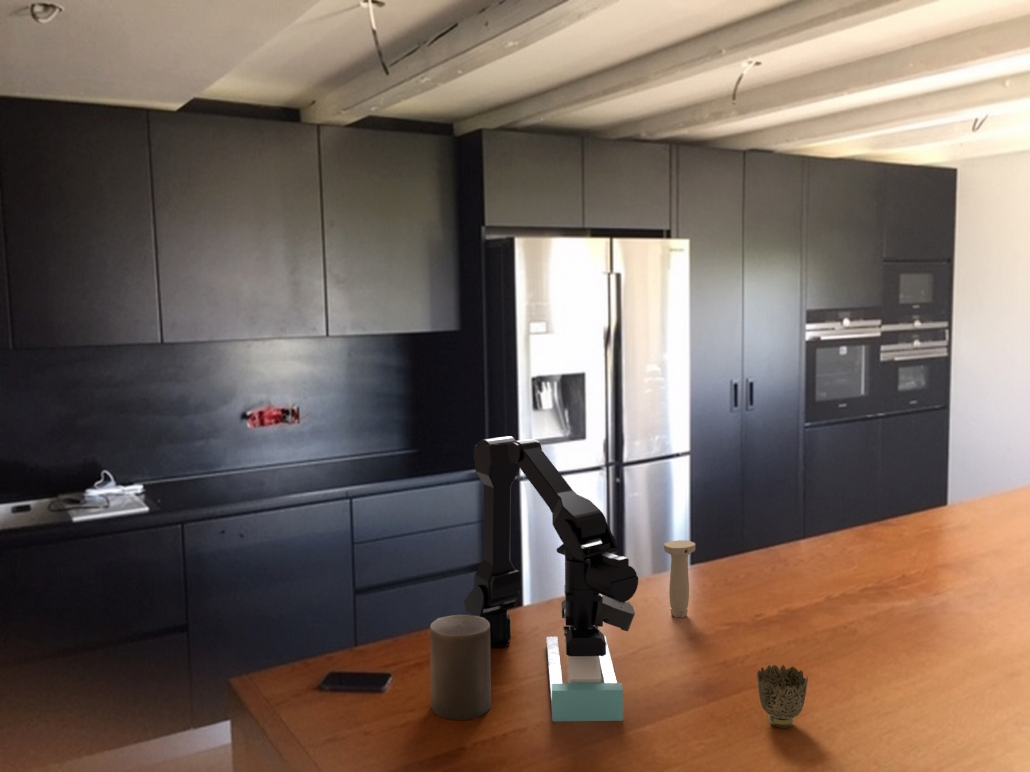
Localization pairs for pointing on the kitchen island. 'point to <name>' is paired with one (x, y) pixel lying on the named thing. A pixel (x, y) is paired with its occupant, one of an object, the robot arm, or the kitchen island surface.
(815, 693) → the kitchen island surface
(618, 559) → the robot arm
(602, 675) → the track
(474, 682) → the pillar candle
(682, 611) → the handle
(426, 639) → the kitchen island surface
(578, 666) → the block
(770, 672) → the cup
